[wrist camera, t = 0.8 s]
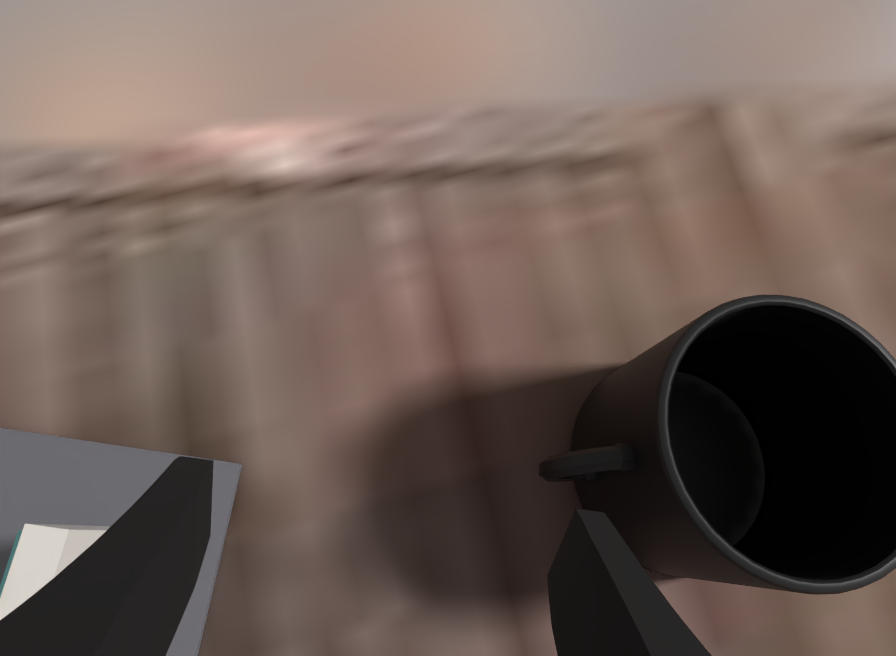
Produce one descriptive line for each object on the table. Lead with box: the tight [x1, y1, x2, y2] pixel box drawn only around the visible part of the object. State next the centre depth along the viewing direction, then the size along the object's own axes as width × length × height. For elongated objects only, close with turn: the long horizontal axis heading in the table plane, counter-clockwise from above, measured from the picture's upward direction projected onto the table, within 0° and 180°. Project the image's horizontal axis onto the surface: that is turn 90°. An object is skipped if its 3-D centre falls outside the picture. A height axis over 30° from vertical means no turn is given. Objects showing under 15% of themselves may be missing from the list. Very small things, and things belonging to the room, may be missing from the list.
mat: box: [0, 428, 242, 656], centre depth 24 cm, size 14×13×1 cm
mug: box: [539, 295, 896, 594], centre depth 24 cm, size 9×12×9 cm
